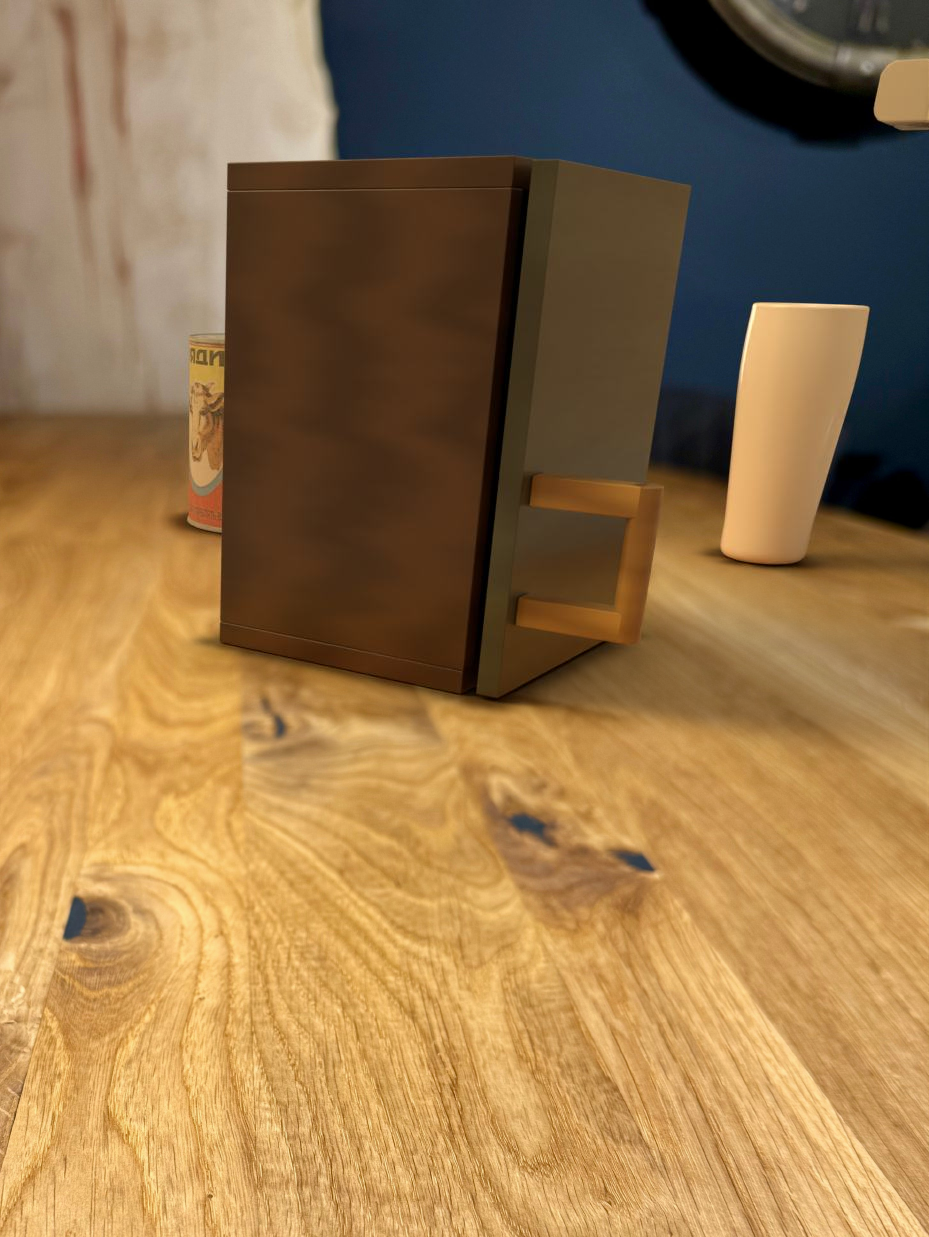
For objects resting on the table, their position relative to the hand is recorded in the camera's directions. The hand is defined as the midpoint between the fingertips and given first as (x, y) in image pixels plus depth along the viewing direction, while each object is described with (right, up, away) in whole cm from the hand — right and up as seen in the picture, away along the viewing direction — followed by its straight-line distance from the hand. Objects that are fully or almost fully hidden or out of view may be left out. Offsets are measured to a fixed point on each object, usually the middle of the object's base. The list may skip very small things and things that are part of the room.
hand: (886, 96), depth 46 cm
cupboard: (-14, -15, +19) cm, 28 cm away
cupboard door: (-6, -17, +14) cm, 23 cm away
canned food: (-21, -1, +47) cm, 51 cm away
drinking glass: (+11, -6, +40) cm, 41 cm away
